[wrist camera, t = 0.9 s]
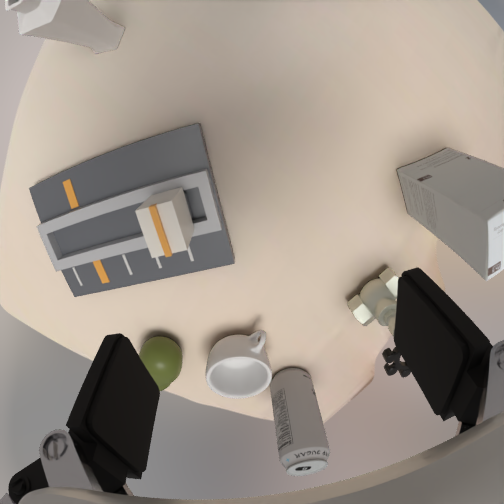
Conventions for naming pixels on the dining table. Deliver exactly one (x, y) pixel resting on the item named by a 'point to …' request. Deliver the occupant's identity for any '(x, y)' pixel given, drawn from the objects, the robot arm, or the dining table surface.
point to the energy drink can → (298, 423)
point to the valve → (381, 313)
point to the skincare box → (459, 205)
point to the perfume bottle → (67, 22)
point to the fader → (166, 222)
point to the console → (130, 213)
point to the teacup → (239, 366)
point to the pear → (162, 360)
